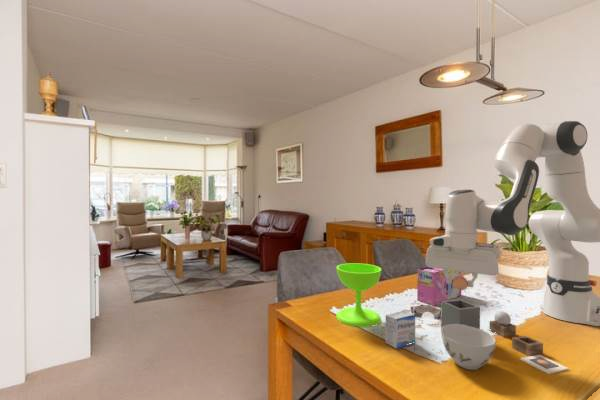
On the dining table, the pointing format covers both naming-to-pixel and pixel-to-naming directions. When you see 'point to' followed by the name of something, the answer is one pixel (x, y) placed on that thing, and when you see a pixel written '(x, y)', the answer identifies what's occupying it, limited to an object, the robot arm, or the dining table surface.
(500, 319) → the white ball
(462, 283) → the terracotta ball
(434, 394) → the dining table surface
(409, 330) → the medicine box
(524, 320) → the dining table surface
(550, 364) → the card
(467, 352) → the teacup
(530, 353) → the walnut ball cups
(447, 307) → the charcoal tube
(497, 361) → the dining table surface
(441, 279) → the gum box
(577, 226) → the robot arm
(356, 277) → the wineglass
